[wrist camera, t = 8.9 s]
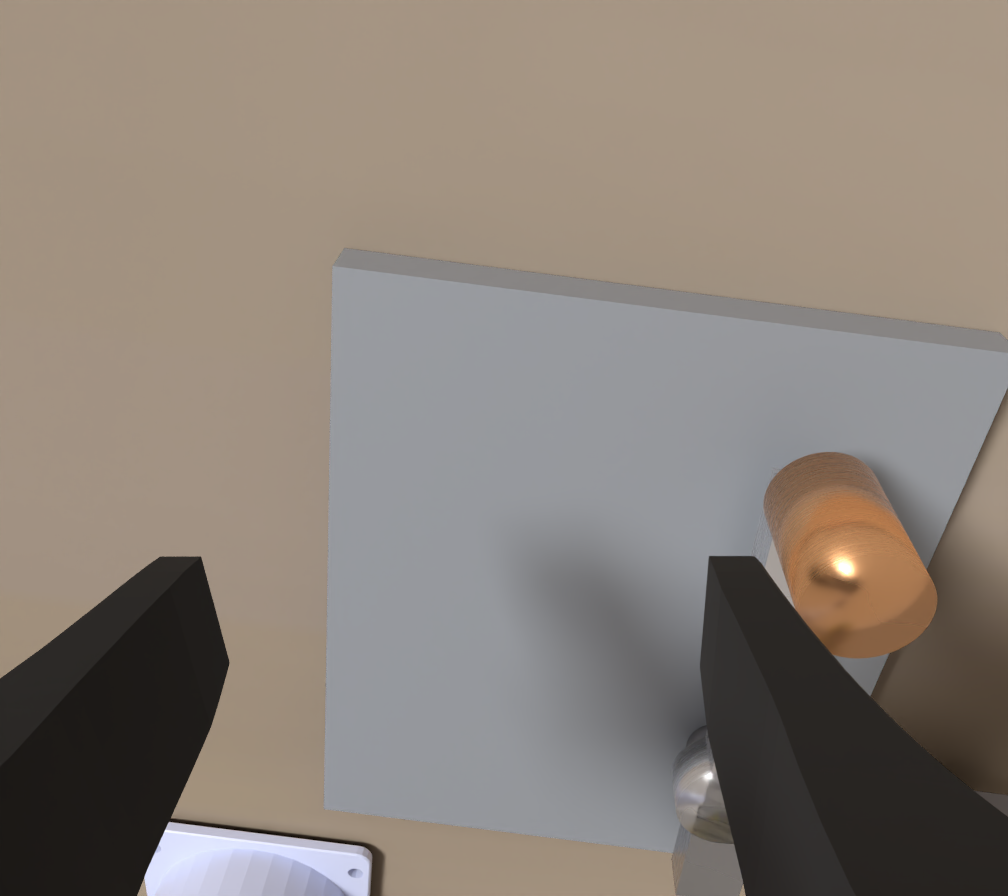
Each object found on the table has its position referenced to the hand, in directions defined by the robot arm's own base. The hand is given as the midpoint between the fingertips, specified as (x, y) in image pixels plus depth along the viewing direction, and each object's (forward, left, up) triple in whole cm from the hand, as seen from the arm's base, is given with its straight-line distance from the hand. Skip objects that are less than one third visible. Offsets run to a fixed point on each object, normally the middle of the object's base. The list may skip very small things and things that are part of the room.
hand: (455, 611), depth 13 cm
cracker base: (-7, -6, -10) cm, 14 cm away
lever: (-8, -8, -8) cm, 13 cm away
